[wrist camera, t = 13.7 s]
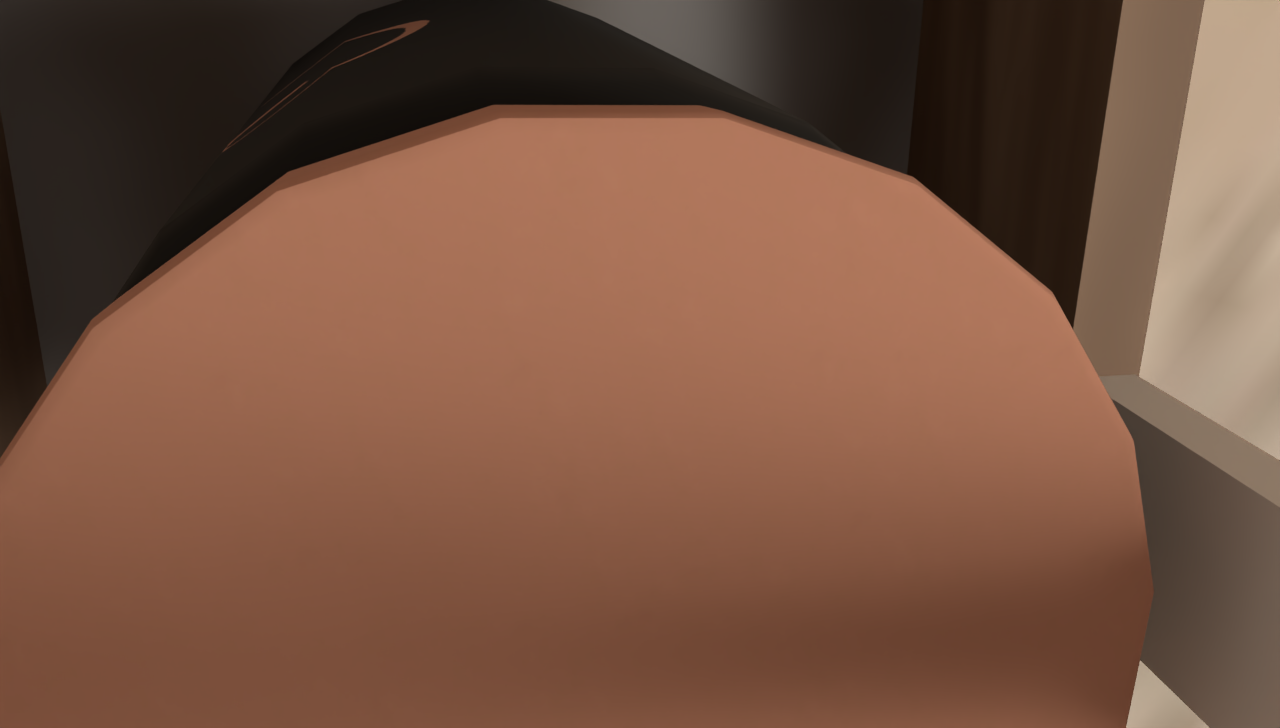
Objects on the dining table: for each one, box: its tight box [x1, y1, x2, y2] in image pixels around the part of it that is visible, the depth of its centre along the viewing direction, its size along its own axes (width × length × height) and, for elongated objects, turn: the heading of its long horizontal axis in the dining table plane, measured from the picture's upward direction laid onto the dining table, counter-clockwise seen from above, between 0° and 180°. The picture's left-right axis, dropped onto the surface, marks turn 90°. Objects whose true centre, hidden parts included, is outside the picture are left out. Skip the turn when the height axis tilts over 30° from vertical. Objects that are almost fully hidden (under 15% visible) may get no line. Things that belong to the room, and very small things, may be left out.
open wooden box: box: [0, 0, 1204, 458], centre depth 24 cm, size 23×23×9 cm
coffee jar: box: [0, 0, 1154, 728], centre depth 19 cm, size 11×11×18 cm
